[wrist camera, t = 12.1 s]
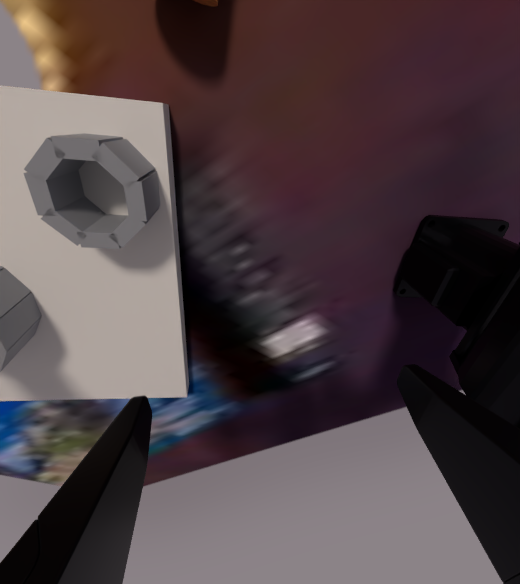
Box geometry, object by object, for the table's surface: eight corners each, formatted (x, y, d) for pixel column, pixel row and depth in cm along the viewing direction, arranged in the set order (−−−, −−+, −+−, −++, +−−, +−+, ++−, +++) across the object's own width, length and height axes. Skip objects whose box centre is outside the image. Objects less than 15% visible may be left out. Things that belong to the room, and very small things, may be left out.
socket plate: (168, 104, 14) (143, 97, 10) (189, 383, 26) (181, 434, 22) (-248, 59, 12) (-502, 26, 8) (-23, 386, 24) (-78, 444, 19)
